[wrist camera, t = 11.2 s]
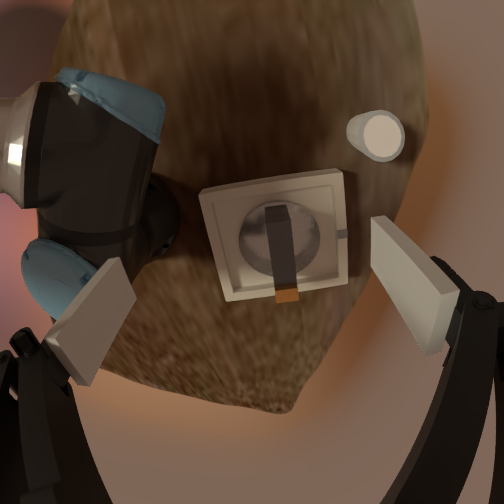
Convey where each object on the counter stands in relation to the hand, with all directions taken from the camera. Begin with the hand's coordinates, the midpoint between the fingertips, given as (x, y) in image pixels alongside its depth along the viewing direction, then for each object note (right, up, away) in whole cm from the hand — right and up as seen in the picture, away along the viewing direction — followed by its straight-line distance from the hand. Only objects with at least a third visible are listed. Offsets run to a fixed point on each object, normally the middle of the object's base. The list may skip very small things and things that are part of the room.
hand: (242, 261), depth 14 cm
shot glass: (+17, +18, +23) cm, 34 cm away
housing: (+5, +3, +30) cm, 31 cm away
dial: (+4, +2, +28) cm, 29 cm away
